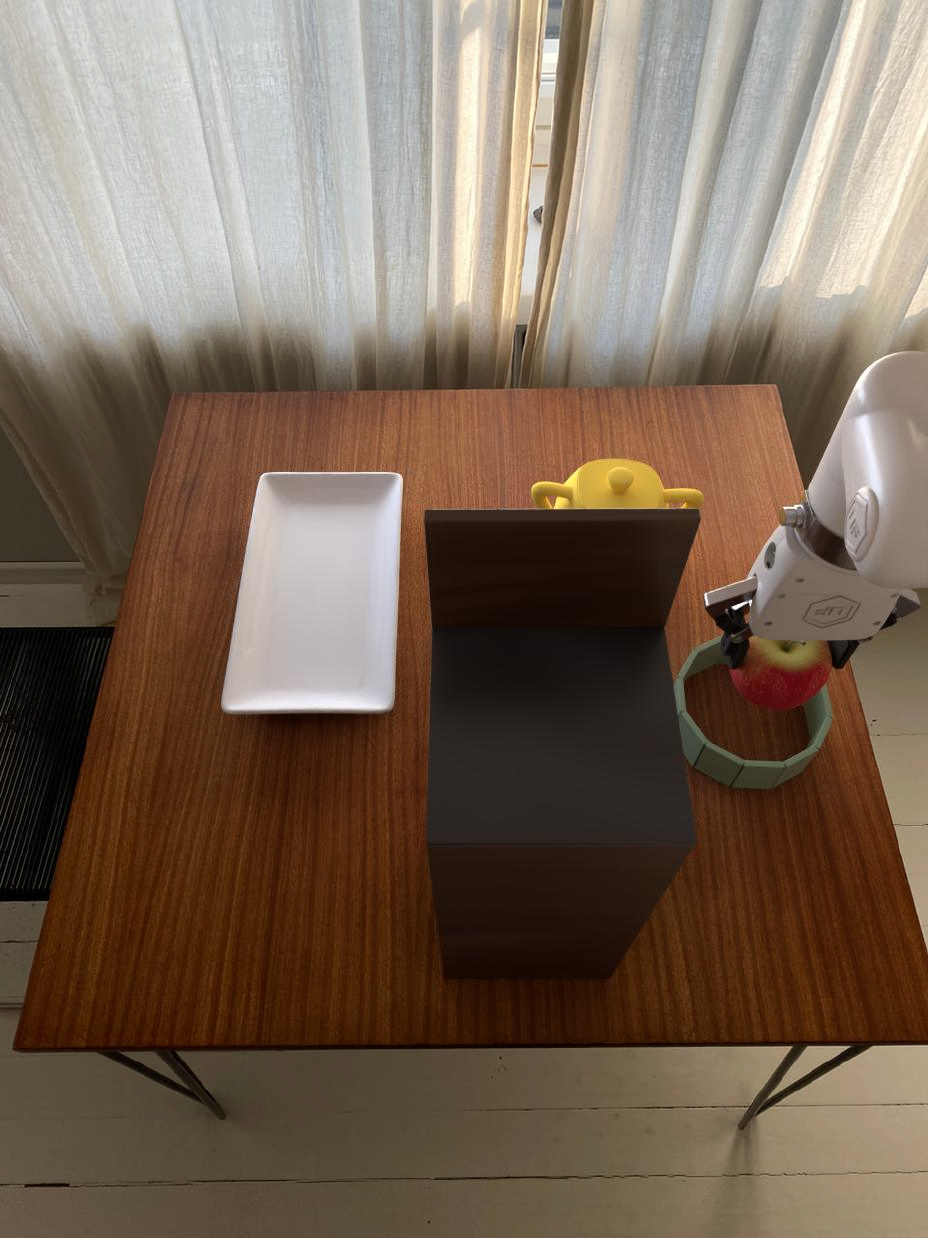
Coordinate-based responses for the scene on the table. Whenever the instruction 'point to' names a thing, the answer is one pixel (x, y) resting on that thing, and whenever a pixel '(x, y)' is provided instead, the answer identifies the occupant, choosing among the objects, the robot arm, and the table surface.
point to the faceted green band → (726, 764)
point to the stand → (552, 735)
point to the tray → (318, 596)
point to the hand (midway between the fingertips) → (782, 654)
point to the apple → (782, 672)
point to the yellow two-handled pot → (613, 488)
